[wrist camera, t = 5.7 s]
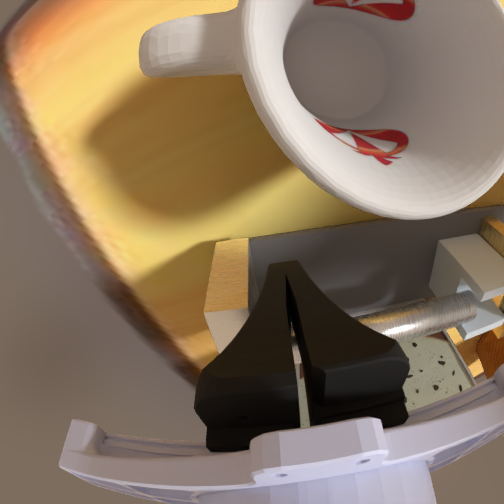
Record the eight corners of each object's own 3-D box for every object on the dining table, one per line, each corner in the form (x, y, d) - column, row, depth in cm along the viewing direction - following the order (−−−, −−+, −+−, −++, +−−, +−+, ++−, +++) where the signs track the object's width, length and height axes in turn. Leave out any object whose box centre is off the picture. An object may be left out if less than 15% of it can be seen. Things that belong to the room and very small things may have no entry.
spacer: (481, 217, 14) (532, 263, 9) (493, 215, 14) (543, 259, 9) (463, 288, 17) (498, 338, 13) (474, 285, 17) (509, 333, 12)
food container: (281, 371, 22) (291, 489, 14) (271, 326, 18) (284, 480, 10) (420, 342, 21) (456, 443, 13) (440, 292, 17) (498, 412, 9)
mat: (225, 241, 15) (225, 245, 15) (516, 203, 14) (519, 205, 13) (247, 327, 19) (246, 331, 19) (496, 275, 17) (499, 278, 17)
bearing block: (435, 237, 15) (484, 292, 11) (473, 230, 15) (523, 279, 10) (426, 282, 17) (463, 340, 12) (463, 273, 17) (502, 324, 12)
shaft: (216, 242, 14) (203, 313, 10) (451, 210, 13) (505, 258, 9) (238, 323, 17) (236, 393, 13) (435, 289, 16) (470, 343, 12)
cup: (183, 149, 13) (112, 224, 6) (180, -6, 9) (109, -85, 2) (399, 157, 13) (504, 230, 6) (406, 15, 9) (521, -9, 2)
